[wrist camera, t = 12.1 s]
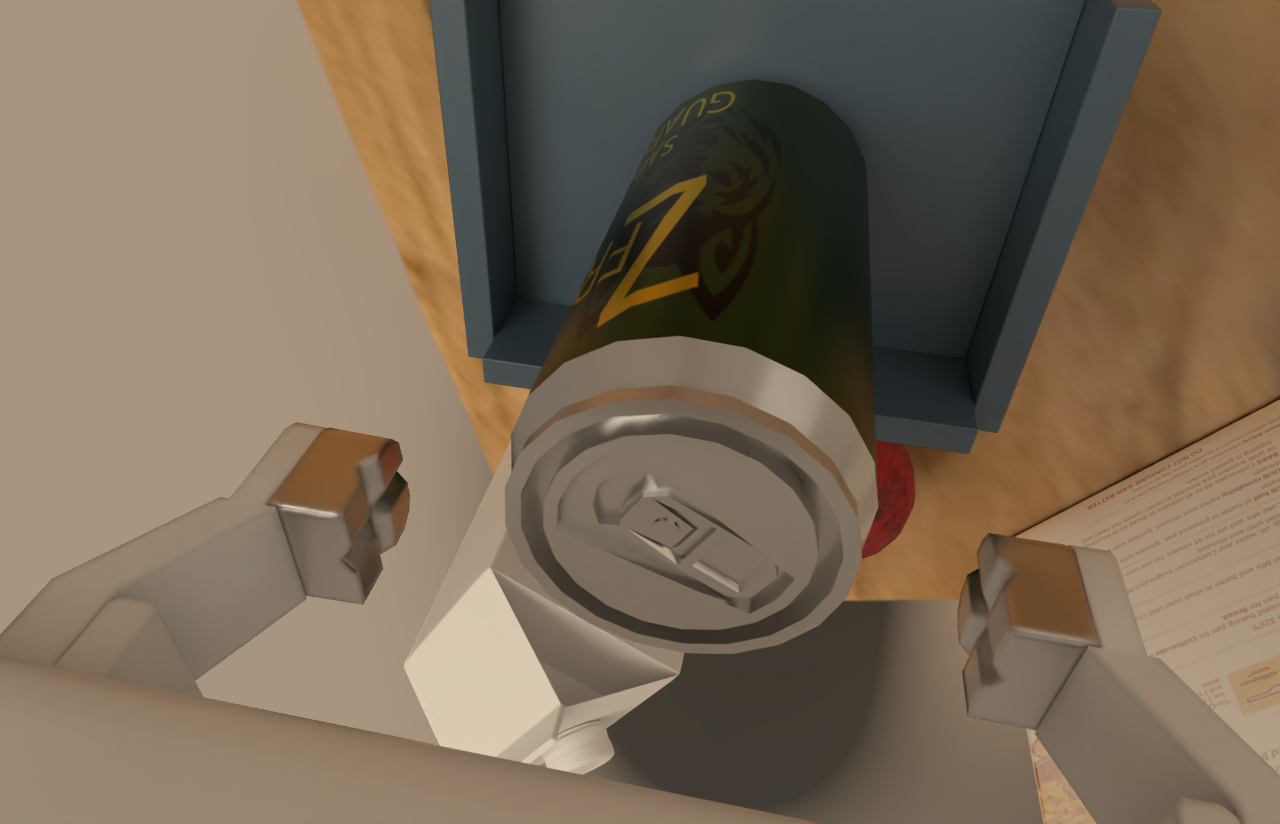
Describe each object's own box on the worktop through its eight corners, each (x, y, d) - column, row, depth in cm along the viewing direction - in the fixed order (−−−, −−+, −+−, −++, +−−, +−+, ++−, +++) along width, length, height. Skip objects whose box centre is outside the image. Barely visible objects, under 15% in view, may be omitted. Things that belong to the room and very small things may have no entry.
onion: (863, 357, 36) (865, 486, 30) (935, 446, 38) (950, 583, 32) (752, 415, 39) (734, 544, 33) (825, 495, 41) (819, 629, 35)
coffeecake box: (1078, 620, 43) (1198, 1093, 28) (987, 544, 41) (1063, 1009, 26) (1418, 475, 35) (1847, 1044, 20) (1323, 369, 33) (1719, 913, 18)
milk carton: (526, 404, 42) (350, 772, 27) (600, 306, 37) (439, 681, 23) (648, 479, 43) (543, 866, 28) (732, 392, 39) (661, 796, 24)
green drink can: (917, 159, 20) (973, 537, 11) (774, 315, 23) (722, 706, 14) (728, 18, 19) (609, 301, 10) (605, 202, 22) (429, 546, 13)
